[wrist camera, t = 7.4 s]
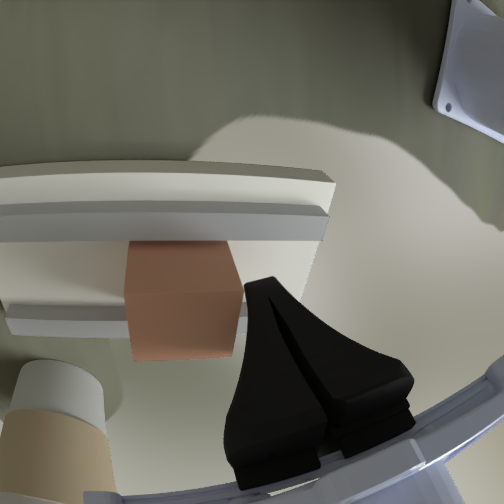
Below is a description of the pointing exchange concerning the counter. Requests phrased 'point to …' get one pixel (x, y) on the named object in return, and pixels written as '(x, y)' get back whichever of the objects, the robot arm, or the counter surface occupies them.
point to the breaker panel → (144, 232)
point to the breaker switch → (181, 299)
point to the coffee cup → (54, 437)
